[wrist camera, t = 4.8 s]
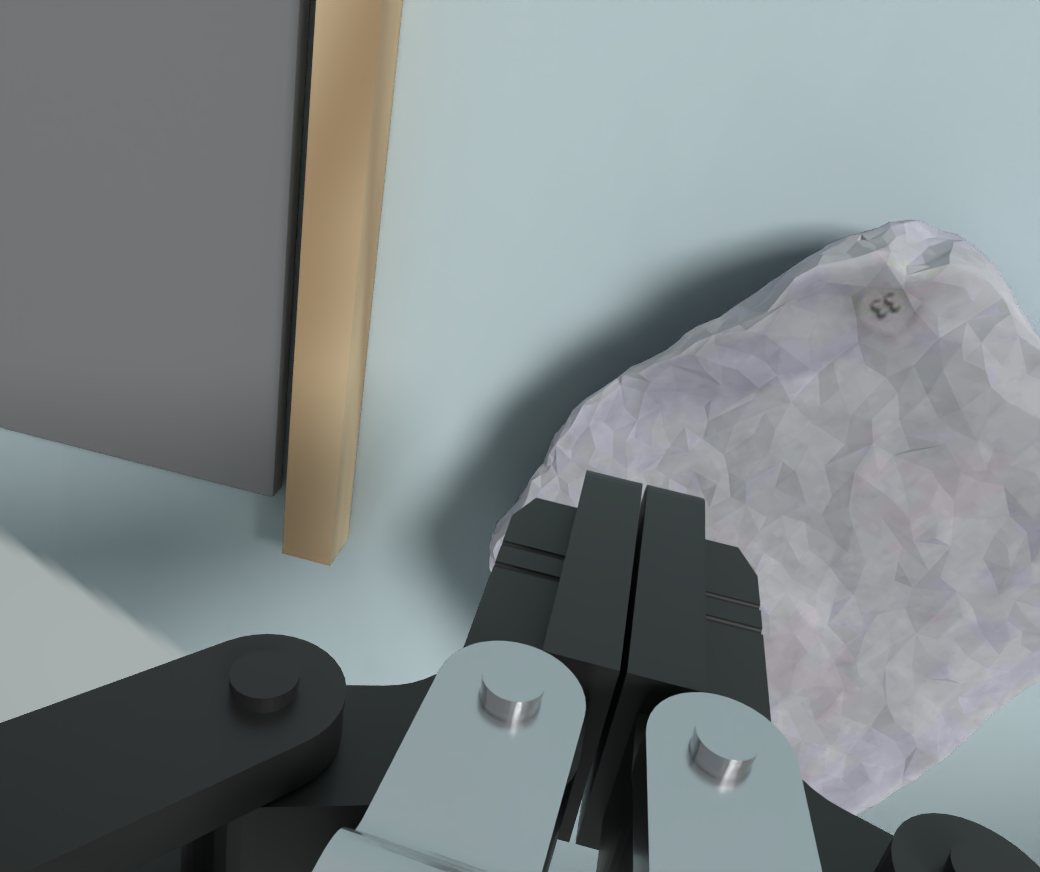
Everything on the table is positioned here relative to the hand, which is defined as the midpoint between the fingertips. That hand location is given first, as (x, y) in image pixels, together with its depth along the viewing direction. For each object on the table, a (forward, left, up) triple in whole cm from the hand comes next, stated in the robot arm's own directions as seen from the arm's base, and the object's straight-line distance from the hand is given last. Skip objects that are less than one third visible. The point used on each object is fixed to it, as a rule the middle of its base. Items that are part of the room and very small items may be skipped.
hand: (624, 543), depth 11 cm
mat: (+13, 0, -8) cm, 16 cm away
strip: (+7, 0, -8) cm, 11 cm away
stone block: (+1, 0, -8) cm, 8 cm away
